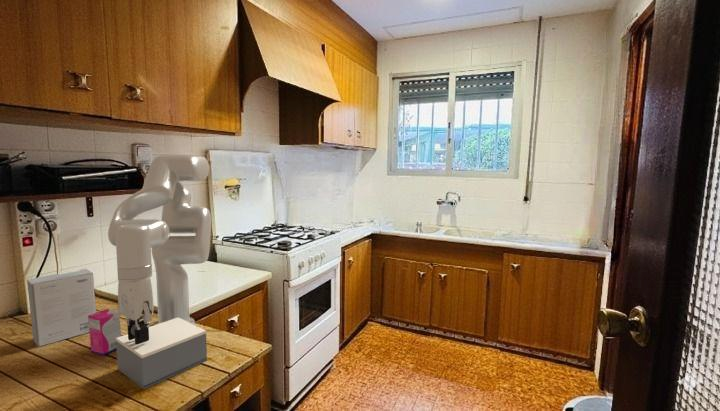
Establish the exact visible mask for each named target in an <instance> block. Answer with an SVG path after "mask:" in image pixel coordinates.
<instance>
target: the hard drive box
mask: <svg viewBox="0 0 720 411" xmlns="http://www.w3.org/2000/svg"><path fill="white" fill-rule="evenodd" d="M26 282H27V292H28V303H29V311H30V320H31V321H30V322H31V328H32V340H33V342H34V344H35V345H36V346H37V348H38V347H39V348H40V347H43V346H46V345H50V344H54V343H58V342H59V341H64V340H66V339H70V338H74V337H78V336H82V335H84V334H88V333H90V332H89V321H88V315H91V314H94V313H97V309H96V308H97V307H96V306H97V305H96V294H95V280H94V273H93V272H92V271H90V270H89V269H87V268H82V269H77V270H72V271H65V272H60V273H59V272H58V273H54V274H50V275H44V276H39V277H38V276H37V277H34V278H28V279H26Z"/></svg>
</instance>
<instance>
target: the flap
mask: <svg viewBox="0 0 720 411" xmlns="http://www.w3.org/2000/svg"><path fill="white" fill-rule="evenodd" d="M135 329H136V324H135V325H133V326H132V328H131V333H132V334H133V335H134V336H135V332H134V330H135ZM203 334H206V335H207V330H206V329H204V328H201V327H199V326H197V325H196V324H194V325H193V324H191V323H189V322H187V321H185V320H183V319H181V318H179V317H178V318H175V319H172V320H169V321H166V322H163V323H160V324H157V325H155V324H154V325H151V326H149V340H148V341H146V342H143V343H141V344H138V345H136V344H135V339H132V340H129V339H128V333H127V334H124V335H121V337H118V338H116V341H117V342H119V343H120V344H121V345H123V346H124V347H126V348H127V349H129V350H130V351H132V352H133V353H135V354H136V355H138V356H139V357H141V358H145V357H147V356H150V355H152V354H155V353H157V352H160V351H162V350H165V349H168V348H170V347H173V346H175V345H178V344H180V343H183V342H185V341H188V340H190V339H193V338H196V337H198V336H201V335H203Z"/></svg>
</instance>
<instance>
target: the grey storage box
mask: <svg viewBox="0 0 720 411" xmlns="http://www.w3.org/2000/svg"><path fill="white" fill-rule="evenodd" d="M116 347H117V350H116V360H117V370H118V371H120V372H121V373H122V374H123V375H125V376H126V377H127V378H128V379H130V380H131V381H132V382H133V383H135V385H137V386H139V387H140V388H142V390H146V389H147V388H150V387H153V386H155V385H156V384H159V383H161V382H163V381H166V380H168V379H170V378H172V377H174V376H177V375H178V374H180V373H183V372H185V371H188V370H189V369H191V368H194V367H196V366H198V365H200V364H202V363H204V362H206V361H208V353H207V352H208V350H207V347H208V346H207V333H206V334H203V335H201V336H198V337H196V338H193V339H190V340H188V341H185V342H183V343H180V344H178V345H175V346H173V347H170V348H168V349H165V350H162V351H160V352H157V353H155V354H152V355H150V356H147V357H145V358H141V357H139V356H138V355H136V354H135V353H133V352H132V351H130V350H129V349H127V348H126V347H124V346H123V345H121V344H120V343H119V342H117V341H116Z"/></svg>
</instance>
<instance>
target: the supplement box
mask: <svg viewBox="0 0 720 411" xmlns="http://www.w3.org/2000/svg"><path fill="white" fill-rule="evenodd" d="M120 318H121V317H120V312H119V311H118V310H114V309H110V308H106V309H103V310H100V311H96V313H94V314H91V315H88V321H89V332H88V333H89V342H90V352H91V353H94V354H97V355H100V356H102V357H103V356H106V355H108V354H110V353H112V352H115V351H117V347H116V338H118V337H121V336H122V329H121V319H120Z"/></svg>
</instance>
